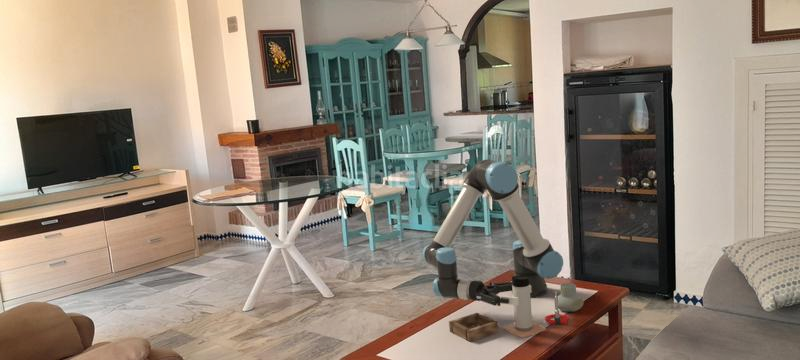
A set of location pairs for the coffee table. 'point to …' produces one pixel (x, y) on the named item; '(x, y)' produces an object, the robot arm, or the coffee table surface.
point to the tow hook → (556, 314)
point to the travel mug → (522, 303)
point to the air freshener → (569, 298)
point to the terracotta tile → (524, 334)
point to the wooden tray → (483, 330)
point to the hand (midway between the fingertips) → (525, 295)
